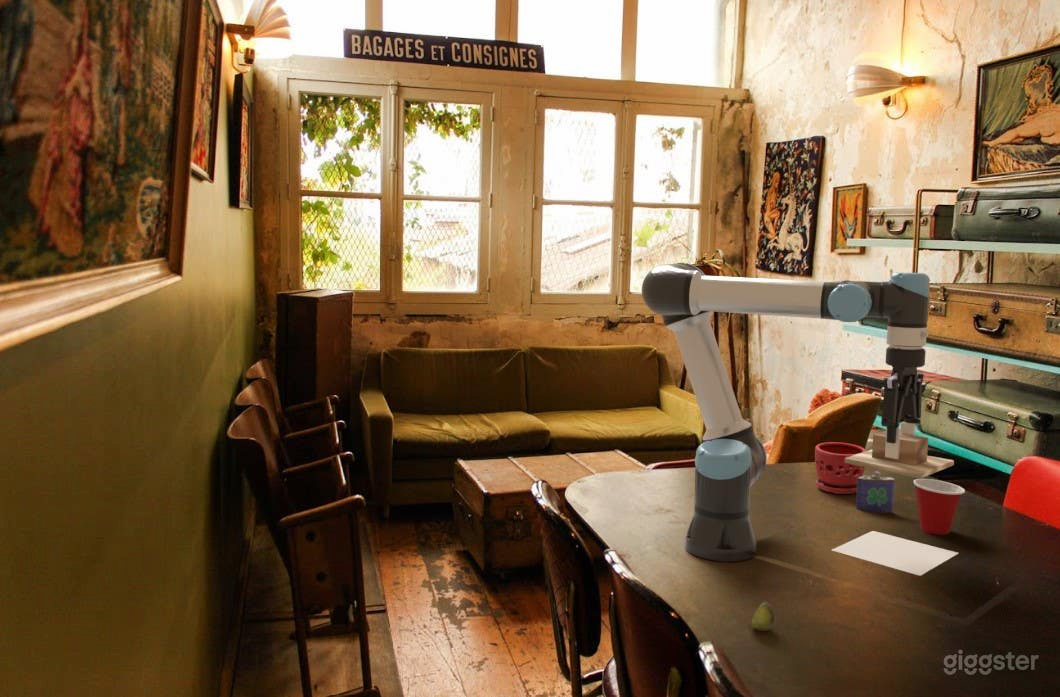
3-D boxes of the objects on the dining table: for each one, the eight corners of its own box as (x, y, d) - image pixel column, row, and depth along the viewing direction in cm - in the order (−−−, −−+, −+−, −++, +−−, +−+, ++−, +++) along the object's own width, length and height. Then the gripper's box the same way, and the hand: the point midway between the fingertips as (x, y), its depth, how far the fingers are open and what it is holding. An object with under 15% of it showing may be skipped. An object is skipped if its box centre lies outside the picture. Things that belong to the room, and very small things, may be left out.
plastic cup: (968, 544, 187) (971, 491, 185) (916, 540, 189) (919, 489, 187) (954, 528, 197) (957, 479, 196) (905, 525, 199) (908, 476, 198)
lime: (750, 635, 142) (751, 607, 141) (748, 622, 147) (749, 595, 146) (777, 637, 141) (778, 609, 141) (774, 625, 146) (775, 597, 145)
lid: (920, 478, 165) (922, 448, 165) (844, 462, 177) (846, 435, 177) (953, 465, 176) (955, 437, 175) (879, 451, 188) (881, 424, 187)
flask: (891, 511, 210) (893, 469, 209) (895, 515, 207) (898, 473, 206) (854, 510, 210) (856, 469, 209) (858, 514, 207) (860, 472, 206)
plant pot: (803, 486, 232) (804, 444, 230) (838, 481, 237) (840, 440, 236) (838, 499, 220) (840, 455, 219) (875, 493, 225) (877, 450, 224)
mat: (919, 580, 166) (920, 575, 166) (830, 554, 180) (830, 550, 180) (958, 557, 178) (958, 553, 178) (872, 534, 192) (872, 530, 192)
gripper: (903, 352, 165) (896, 466, 167) (943, 345, 177) (936, 451, 180) (866, 348, 170) (860, 459, 173) (908, 342, 183) (901, 445, 186)
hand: (899, 455), depth 176 cm, fingers closed on lid, 6 cm apart
